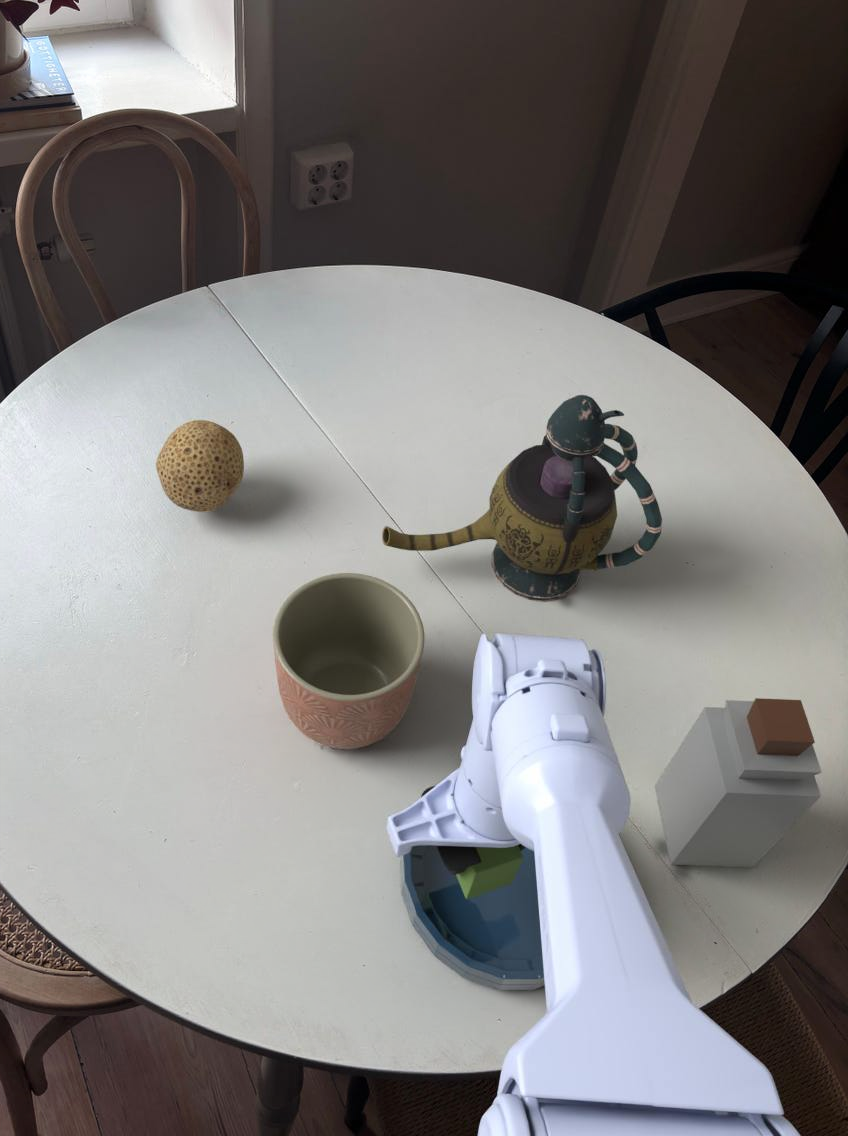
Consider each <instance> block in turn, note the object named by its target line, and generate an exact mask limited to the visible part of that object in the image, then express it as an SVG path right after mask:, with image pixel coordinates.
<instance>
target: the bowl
mask: <svg viewBox="0 0 848 1136" xmlns="http://www.w3.org/2000/svg"><path fill="white" fill-rule="evenodd" d="M521 853H522V855H523V860H522V862H521V864H520V866H519V868H518V870H517V873H516V875H515V877H514V879H513V881H512V883H511V884H509V885H507V886H504V887H501V888H498V889H495V890H492V891H489V892H487V893H484V894H481V895H478V896H475V897H472V898H470V899H466V898H465V896H464V893H463V891H462V888H461V886H460V883H459V881H458V878H457V876H456V875H452V874H451V871H448V870H447V868H446V867H445V865H444V863H443V862H442V859H441V857H440V854H439V852H438V849H437V847H436V845H418V846H412V849H411V852H410V853H408V854H405V855H402V856H400V861H399V866H400V867H399V869H400V870H399V871H400V893H401V897H402V900H403V903H404V905H405V908H406V911H407V913H408V917H409V920H410V923H411V925H412V927H413V929H414V930H415V932H416V933H417V934H418V936H419V937H420V938H421V940H422V941H423V943H424V944H425V945H426V947H427V948H428V949H429V951H430V952H431V954H432V955H433V956H434V957H435V958H436V959H438V960H439V962H441V963H442V964H444V965H446V966H447V967H448V968H450V970H452V971H453V972H454V973H456V974H457V975H458V976H460V977H461V978H463V979H465V980H468V981H471V982H473V983H476V984H479V985H482V986H484V987H487V988H492V989H493V990H498V991H534V990H536V989H539V988H541V987H545V981H544V968H543V955H542V942H541V930H540V917H539V904H538V891H537V878H536V866H535V853H534V851H532V850H530V849H528V848H524V849H523V850H522V851H521Z"/></svg>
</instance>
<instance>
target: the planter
mask: <svg viewBox="0 0 848 1136" xmlns="http://www.w3.org/2000/svg"><path fill="white" fill-rule="evenodd" d="M422 620H423V619H422V618H421V616H420V613H419V611H418V610H417V608H416V606H415V604H414V603H413V602H412V601H411V599H410V598H409V597H408V596H406V594H404V593H403V591H401V590H400V589H399V588H397V587H396V586H394V585H392V584H391V583H389V582H387V581H385V580H383V579H381V578H378V577H376V576H372V575H368V574H363V573H355V572H339V573H332V574H331V573H330V574H327V575H322V576H320V577H316V578H314V579H312V580H310V581H308V582H306V583H305V584H302V586H300V587H298V588H297V589H296V590H295V591H293V592H292V593H291V594H290V595H289V596H288V597H287V599H286V600H285V601H284V602H283V604H281V607H280V608H279V610H278V612H277V614H276V617H275V620H274V624H273V627H272V629H273V630H272V643H273V652H274V662H275V663H274V664H275V671H276V672H275V673H276V678H277V685H278V691H279V695H280V698H281V702H282V706H283V709H284V710H285V712H286V714H287V716H288V718H289V719H290V721H291V722H292V723H293V725H294V727H296V729H297V730H298V731H300V732H301V734H303V735H304V736H305V737H307V738H308V739H310V740H311V741H313V742H315V743H317V744H320V745H322V746H325V747H328V748H332V749H338V750H352V749H353V750H354V749H359V748H363V747H366V746H367V747H368V746H369V745H372V744H375V743H377V742H378V741H380V740H382V739H383V738H385V737H386V736H388V735H389V734H390V733H391V732H392V731H393V730H394V729H395V728H396V727H397V725H398V724H399V723H400V721H401V720H402V719H403V717H404V716H405V713H406V711H407V709H408V707H409V705H410V702H411V699H412V696H413V694H414V691H415V687H416V682H417V680H418V675H419V671H420V665H421V661H422V657H423V654H424V649H425V641H426V639H425V638H426V637H425V629H424V623H423V621H422Z"/></svg>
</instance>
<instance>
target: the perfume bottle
mask: <svg viewBox="0 0 848 1136" xmlns="http://www.w3.org/2000/svg"><path fill="white" fill-rule="evenodd" d="M815 743H816V742H815V738H814V735H813V733H812V729H811V726H810V723H809V721H808V717H807V715H806V711H805V709H804V705H803V702H802V700H801V699H788V698H787V699H786V698H785V699H784V698H757V697H755V699H754V700H732V699H730V700H729V699H725V704H724V707H716V706H704V708H703V709H702V711H701V713H700V714H699V715H698V717H697V718H696V720H695V722H694V723H693V724H692V726H691V728H690V730H688V733H687V734H686V736H685V737H684V739H683V741H682V742H681V743H680V745H679V746H678V748H677V749H676V751H675V753H674V755H673V756H672V757H671V759H670V761H669V763H668V764H667V766H666V767H665V768H664V770H663V772H662V774H661V775H660V776H659V778H658V779H657V781H656V782H655V784H654V789H655V793H656V798H657V804H658V809H659V813H660V818H661V823H662V829H663V835H664V837H665V843H666V849H667V854H668V858H669V863H670V865H674V866H699V867H703V866H704V867H729V868H731V867H732V868H734V867H735V868H754V867H755V866H756V865H757V864H758V863H759V862H760V861H761V859H763V858H764V856H765V855H767V853H769V851H770V850H771V849H773V847H774V846H775V845H776V844H777V843H778V842H779V841H780V839H782V838H783V836H785V834H787V832H788V831H790V829H791V828H792V827H793V826H794V825H796V823H797V822H798V821H799V820H800V819H801V818H802V817H803V816H804V815H805V814H806V812H807V811H808V810H809V809H811V807H812V806H813V805H814V804H816V802H818V801H819V799H820V798H821V797H822V795H821V792H820V788H819V785H818V782H817V779H816V776H817V775H820V774H822V772H823V771H822V769H821V765H820V762H819V760H818V757H817V753H816V750H815V748H814V744H815Z"/></svg>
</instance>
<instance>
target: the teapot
mask: <svg viewBox="0 0 848 1136" xmlns="http://www.w3.org/2000/svg"><path fill="white" fill-rule="evenodd" d="M624 416H625V414H624V412H623V411H621V410H618V409H614V410H609V411H605V412H603V411H602V408H601V407H600V405H599V404H598V403H597V401H596V400H595V399H594V398H593V397H591V396H589V395H586V394H578V395H575V396H573V397H571V398H568V399H567V400H564V401H563V402H562V403H560V405H559V406H558V407H557V408H556V409H555V410H554V411H553V413H552V414H551V416H550V417H549V418H548V420H547V423H546V428H545V435H544V436H543V439H542V443H541V444H535V445H533V446H531V447H528V448H526V449H524V450H522V451H521V452H520V453H519V454H518V455H517V456H515V457H514V458H513V459H512V460H511V461H510V462H509V463H508V464H507V465H506V466H505V467H504V468H503V469H502V470H501V472H500V473H499V475H497V478H496V480H495V482H494V485H493V486H492V490H491V491H490V496H489V509H488V510H487V511H486V512H485V513H484V514H482V516H480V517H479V518H478V519H477V520H475V521H474V522H473V523H470V524H468V525H466V526H464V527H461V528H459V529H456V530H454V531H453V530H452V531H448V532H444V533H429V534H427V533H426V534H407V533H404V532H403V533H402V532H399V531H398V530H396V529H394V528H392V527H390V526H388V525H387V526H384V528H383V530H382V532H381V533H382V534H381V535H382V536H381V539H382V543H383V545H384V546H386V547H390V548H394V549H397V550H398V549H399V550H403V551H412V552H413V551H415V552H419V551H420V552H425V551H426V552H428V551H430V552H431V551H438V550H442V549H445V548H450V547H455V546H460V545H463V544H467V543H470V542H476V541H481V540H493V541H496V543H495V546H494V548H493V550H492V553H491V568H492V570H493V573H494V576H495V578H496V579H497V580H498V581H499V582H500V584H501V585H502V586H503V588H505V589H507V590H508V591H510V592H511V593H512V594H514V595H515V596H518V597H521V598H523V599H526V600H529V601H538V602H549V601H554V600H558V599H560V598H563V597H564V596H567V595H569V594H570V593H571V592H572V590H573V589H575V587H576V586H577V584H578V581H579V579H580V575H581V571H582V570H587V571H588V570H589V571H598V570H602V569H609V568H617V567H624V566H628V565H629V564H632V563H634V562H636V561H637V560H640V559H641V558H643V557H644V556H645V555H646V554H648V552H649V551H651V550H652V549H653V547H654V546H655V545H656V543H657V542H658V540H659V538H660V537H661V534H662V526H663V517H662V513H661V509H660V505H659V502H658V500H657V497H656V495H655V492H654V491H653V488H652V486H651V483H650V482H649V481H648V479H646V478H645V476H644V474H643V473H641V471H640V470H639V469H638V467H637V466H636V464H637V460H638V456H639V455H638V454H639V452H638V445H637V442H636V441H635V438H634V436H633V435H632V434H631V433H630V432H629V431H627V430H626V429H624V428H623V427H622V426H619V425H616V424H612V423H605V422H606V420H608V419H611V418H616V417H624ZM605 439H606V440H612V441H614V442H616V443H618V444H619V445H620V446H619V447H621V449H622V453H621V452H620V451H618V450H617V449H614V447H612V446H609V445H608V444H606V443H605ZM596 457H597V458H599V459H601V460H602V461H605V462H606V463H608V464H609V465H611V466H612V467H613V468H614V469H615V470H614V471H613V472H612V473H611V474H610V473H609V471H608V469H607V468H606V467H605V465H603V464H602V463H601V462H600V461H599V460H598V459H597V458H596ZM625 480H626V481H627V482H628V484H629V485H630V486H631V487H632V488H633V489H634V491H635V493H636V495H637V498H638V499H639V502H640V505H641V507H642V509H643V512H644V516H645V520H646V521H645V522H646V523H645V531H644V533H643V535H642V536H641V537H640V538H639V539H638V540H637V541H635V543H634V544H632V545H631V546H629V547H627V548H625V549H624V550H621V551H616V552H611V553H610V552H609V553H603V554H601V552H602V551H603V550H604V549H605V547H606V546H607V544H608V543H609V541H610V540H611V538H612V534H613V531H614V528H615V525H616V522H617V518H618V506H617V499H616V492H615V491H616V490H617V489H618V488H620V486H622V485H623V483H624V482H625Z"/></svg>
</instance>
